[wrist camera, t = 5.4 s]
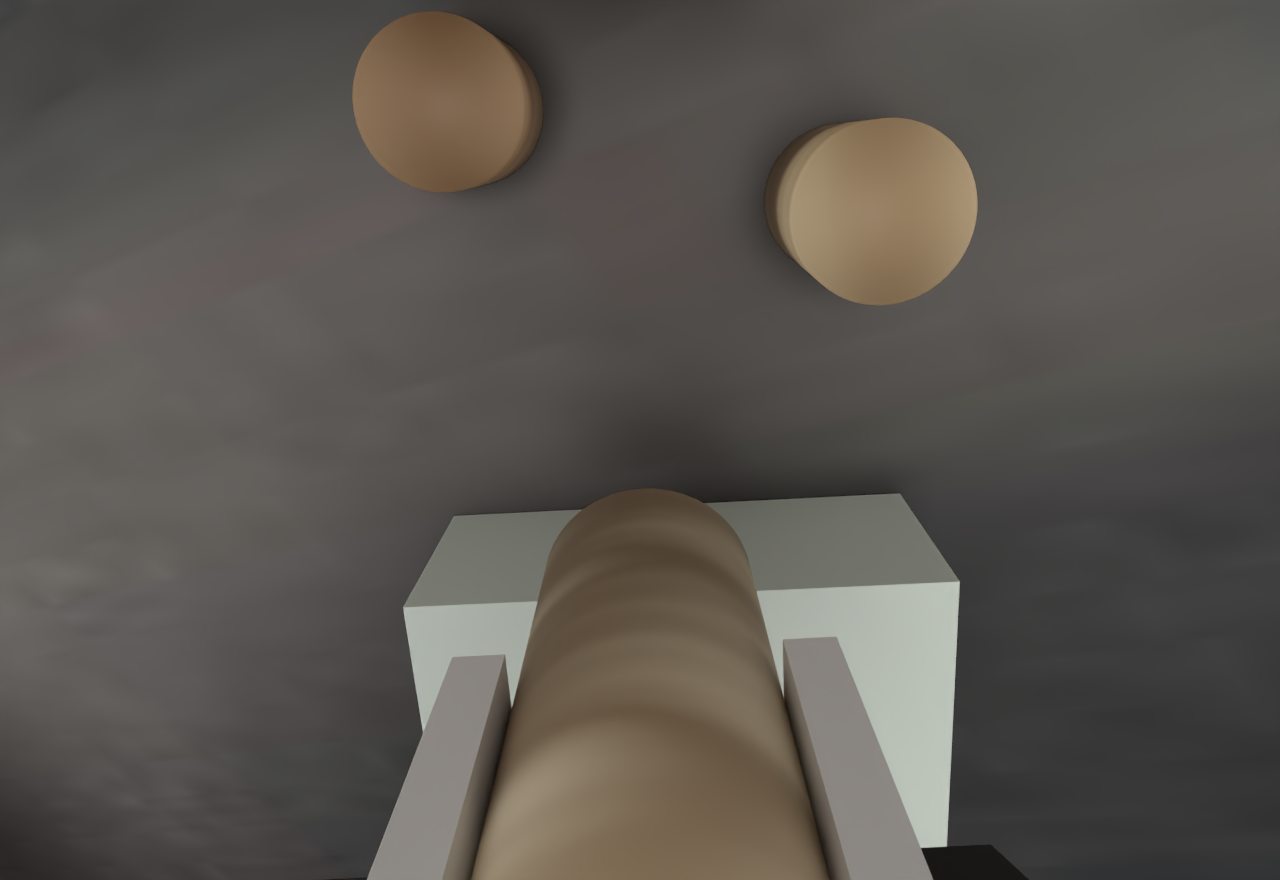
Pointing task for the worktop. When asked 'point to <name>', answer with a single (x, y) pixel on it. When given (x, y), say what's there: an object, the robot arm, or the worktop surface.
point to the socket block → (790, 603)
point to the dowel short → (446, 103)
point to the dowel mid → (873, 207)
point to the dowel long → (649, 713)
